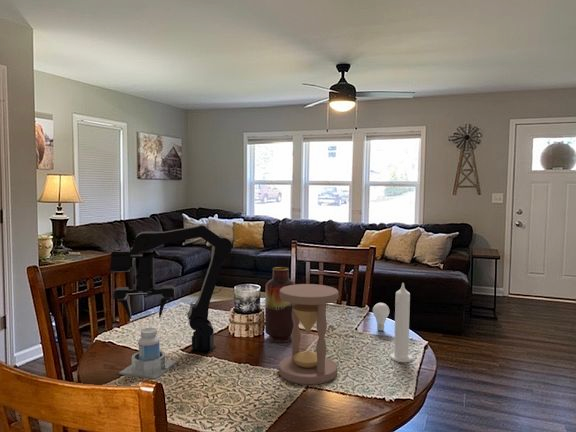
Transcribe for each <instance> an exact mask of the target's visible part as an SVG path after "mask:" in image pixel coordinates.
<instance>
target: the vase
mask: <svg viewBox="0 0 576 432" xmlns="http://www.w3.org/2000/svg"><path fill="white" fill-rule="evenodd" d="M289 271H290V269H289V267H285V266H275V267H272V279H270V280H268V281H267V283H266V284H265V293H264V295H265V301H264V303H265V304H264V305H265V307H264V308H265V313H264V315H265V316H264V319H265V324H264V327H265V328H264V329H265V330H264V331H265V334H266V335H268V337H267V340H268V341H269V342H271V343H275V344H285V343H289V342H292V339H291V333H292V330H293V326H294V324H293V320H292V307H293V303H290V302H286V301H284V300H282V299H280V289H281V288H283V287H285V286H289V285H296V283H295V282H294V281H293V280H292V279H290V272H289Z"/></svg>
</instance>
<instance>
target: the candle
mask: <svg viewBox="0 0 576 432" xmlns="http://www.w3.org/2000/svg"><path fill="white" fill-rule="evenodd" d="M394 302H395V303H394V307H395V308H394V309H395V311H394V340H393V341H394V345H393V346H394V348H393V353H390V354H389V358H390V359H391V360H392V361H394V362H398V363H409V362H412V361H413V356H412V355H411V354H409V346H410V345H409V342H410V341H409V340H410V339H409V338H410V312H411V311H410V310H411V309H410V307H411V306H410V305H411V303H410V302H411V293H410V292H409V291H408V290H407V289H406V287H405V283H404V282H402V283H401V287H400V289H398V290H397V291H396V292H395V300H394Z"/></svg>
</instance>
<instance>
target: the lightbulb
mask: <svg viewBox="0 0 576 432" xmlns="http://www.w3.org/2000/svg"><path fill="white" fill-rule="evenodd" d="M389 314H390V308H389V306H388V305H387V304H386V303H384V302H378V303H376V304H375V305H374V306H373V307H372V315H373V316H374V318H375V320H376V325H377V327H376V328H377V330H378V331H379V332H383V331H384V330H385V323H386V320H387V318H388V317H389Z"/></svg>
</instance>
